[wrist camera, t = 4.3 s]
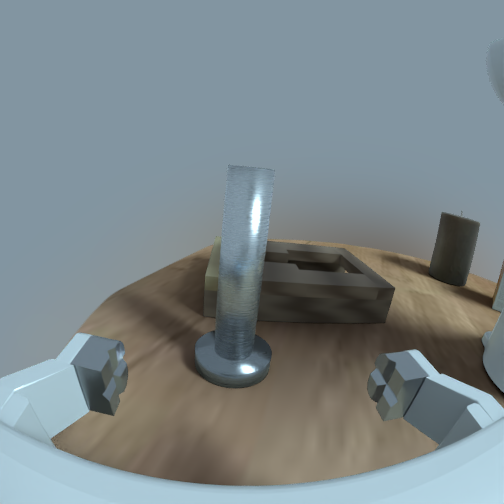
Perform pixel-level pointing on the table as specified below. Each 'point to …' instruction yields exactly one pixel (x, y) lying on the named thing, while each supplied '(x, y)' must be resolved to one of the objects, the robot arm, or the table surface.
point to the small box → (499, 293)
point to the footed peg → (239, 284)
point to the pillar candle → (454, 249)
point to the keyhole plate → (310, 286)
